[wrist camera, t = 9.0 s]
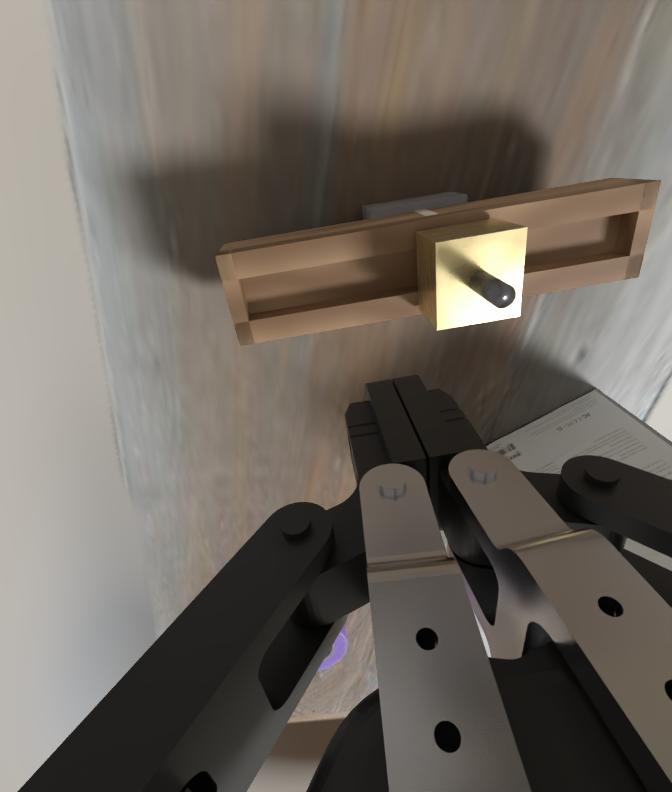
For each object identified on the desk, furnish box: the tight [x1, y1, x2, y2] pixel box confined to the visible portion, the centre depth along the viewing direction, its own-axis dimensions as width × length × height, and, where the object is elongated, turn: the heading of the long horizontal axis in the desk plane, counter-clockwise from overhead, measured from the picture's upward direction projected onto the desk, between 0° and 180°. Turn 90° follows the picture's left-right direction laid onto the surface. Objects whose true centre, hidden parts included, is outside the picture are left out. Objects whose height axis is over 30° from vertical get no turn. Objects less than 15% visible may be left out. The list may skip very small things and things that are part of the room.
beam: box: [215, 178, 661, 346], centre depth 30 cm, size 7×28×8 cm, turn 98°
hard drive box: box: [486, 389, 672, 571], centre depth 38 cm, size 16×8×20 cm, turn 122°
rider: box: [416, 218, 528, 331], centre depth 24 cm, size 5×5×8 cm
